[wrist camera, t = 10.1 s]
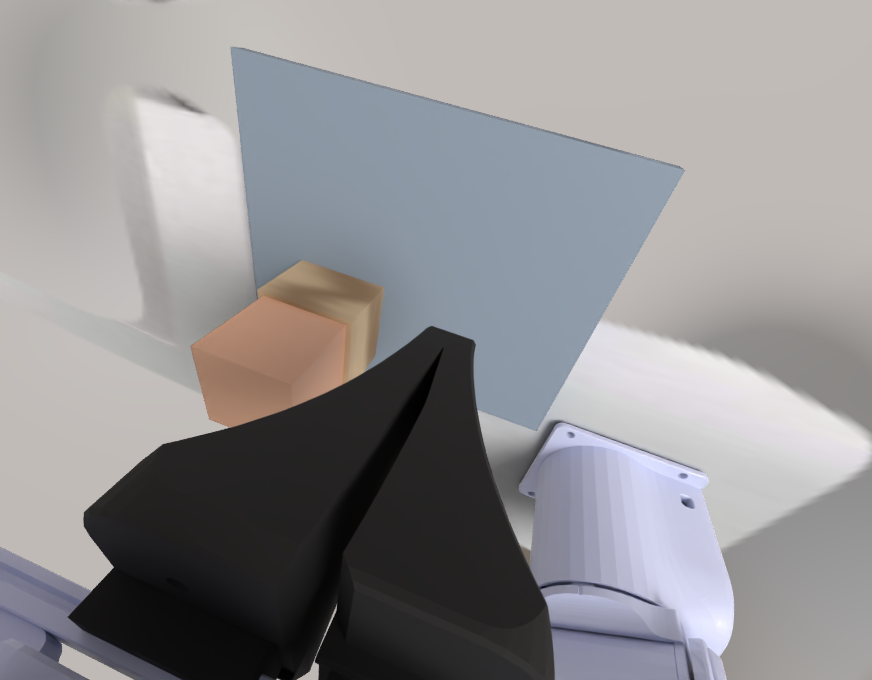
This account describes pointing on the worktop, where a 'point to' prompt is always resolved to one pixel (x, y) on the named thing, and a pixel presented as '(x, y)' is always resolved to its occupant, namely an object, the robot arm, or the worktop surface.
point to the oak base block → (334, 307)
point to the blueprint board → (445, 218)
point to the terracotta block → (268, 361)
